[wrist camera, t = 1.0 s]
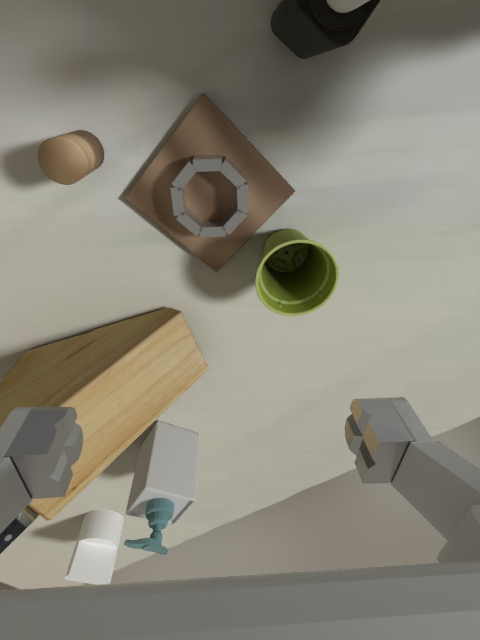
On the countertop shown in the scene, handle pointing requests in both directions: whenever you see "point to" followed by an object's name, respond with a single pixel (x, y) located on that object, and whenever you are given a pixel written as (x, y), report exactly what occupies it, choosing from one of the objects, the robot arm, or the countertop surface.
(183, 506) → the soap bottle
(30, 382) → the knife block
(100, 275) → the countertop surface
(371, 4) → the candle
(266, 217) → the walnut board
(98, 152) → the oak dowel
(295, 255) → the plant pot
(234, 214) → the steel ring
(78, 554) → the base with upright slab
